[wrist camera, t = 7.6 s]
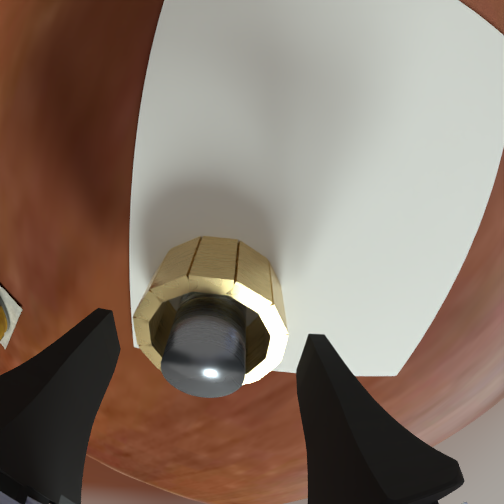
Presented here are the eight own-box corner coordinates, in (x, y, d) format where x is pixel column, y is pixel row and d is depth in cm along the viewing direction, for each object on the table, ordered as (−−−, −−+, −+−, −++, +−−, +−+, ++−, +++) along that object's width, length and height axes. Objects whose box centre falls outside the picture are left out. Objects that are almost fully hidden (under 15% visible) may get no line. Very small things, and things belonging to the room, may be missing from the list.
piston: (252, 274, 12) (252, 352, 8) (240, 324, 14) (237, 402, 10) (186, 263, 12) (160, 336, 8) (182, 313, 13) (161, 389, 9)
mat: (510, 46, 7) (515, 46, 7) (393, 370, 16) (396, 375, 16) (195, -73, 6) (194, -78, 5) (136, 340, 15) (134, 346, 15)
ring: (290, 245, 12) (300, 286, 9) (269, 345, 14) (271, 392, 12) (152, 230, 12) (126, 267, 9) (159, 332, 14) (143, 377, 11)
